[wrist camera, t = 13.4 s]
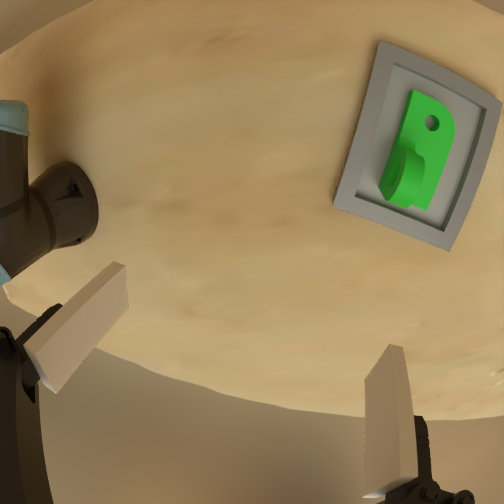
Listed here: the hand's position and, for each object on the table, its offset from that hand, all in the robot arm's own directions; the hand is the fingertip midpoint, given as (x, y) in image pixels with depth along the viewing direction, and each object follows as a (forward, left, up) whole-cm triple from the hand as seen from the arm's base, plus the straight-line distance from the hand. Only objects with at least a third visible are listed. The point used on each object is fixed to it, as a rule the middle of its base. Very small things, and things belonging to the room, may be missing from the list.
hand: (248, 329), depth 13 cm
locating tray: (+12, +10, -24) cm, 29 cm away
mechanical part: (+11, +9, -24) cm, 28 cm away
